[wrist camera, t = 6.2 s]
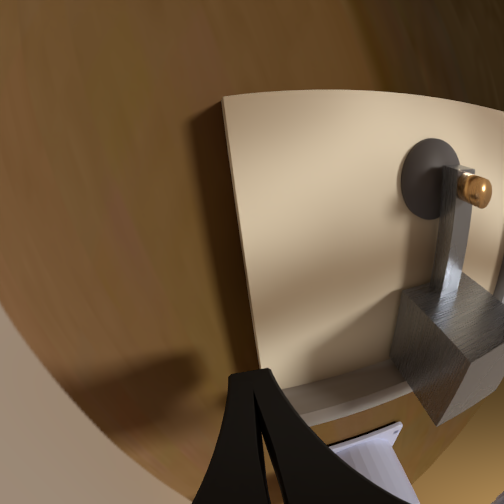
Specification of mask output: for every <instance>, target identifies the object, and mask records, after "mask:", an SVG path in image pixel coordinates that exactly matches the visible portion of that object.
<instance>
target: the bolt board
mask: <svg viewBox="0 0 504 504" xmlns="http://www.w3.org/2000/svg"><path fill="white" fill-rule="evenodd" d="M221 104H222V111H223V119H224V126H225V134H226V141H227V148H228V156H229V163H230V170H231V177H232V185H233V192H234V199H235V206H236V213H237V220H238V227H239V234H240V241H241V248H242V255H243V262H244V269H245V275H246V282H247V289H248V296H249V302H250V309H251V316H252V322H253V329H254V336H255V342H256V349H257V355H258V362H259V368H260V369H264V368H269V369H271V370H272V373H273V375H274V377H275V379H276V381H277V383H278V385H279V386H280V388H281V390H282V391H283V393H284V394H285V396H286V397H287V399H288V400H289V402H290V403H291V405H292V406H293V407H294V408H295V410H296V411H297V412H298V414H299V415H300V416H301V418H302V419H303V420H304V421H305V422H306V424H307V425H308V426H309V427H310V426H314V425H317V424H321V423H325V422H328V421H332V420H335V419H338V418H342V417H345V416H348V415H351V414H354V413H357V412H360V411H363V410H366V409H369V408H372V407H374V406H377V405H380V404H383V403H385V402H388V401H390V400H393V399H395V398H398V397H400V396H403V395H405V394H408V393H410V392H412V389H411V388H410V386H409V385H408V383H407V382H406V380H405V379H404V377H403V376H402V374H401V373H400V371H399V370H398V369H397V367H396V366H395V364H394V363H393V361H392V360H391V359H390V357H389V353H390V349H391V345H392V341H393V336H394V331H395V326H396V321H397V316H398V311H399V305H400V300H401V294H402V290H405V289H409V288H412V287H416V286H419V285H423V284H426V283H429V282H430V280H431V274H432V269H433V263H434V256H435V250H436V242H437V235H438V226H439V216H440V205H441V190H442V165H462V166H466V167H469V168H472V169H475V175H477V176H480V177H483V178H486V179H488V180H489V181H490V183H491V185H492V196H491V200H490V202H489V204H488V205H487V206H486V207H485V208H483V209H480V208H478V207H476V206H474V205H472V214H471V222H470V229H469V235H468V242H467V247H466V253H465V258H464V263H463V268H462V272H463V273H465V274H466V275H467V276H469V277H470V278H471V279H473V280H474V281H475V282H477V283H478V284H479V285H481V286H482V287H483V288H484V289H486V290H487V291H488V292H490V293H491V294H492V295H493V296H495V297H496V298H497V299H498V300H499V301H501V302H502V303H503V304H504V112H502V111H498V110H494V109H490V108H486V107H482V106H478V105H473V104H468V103H463V102H458V101H453V100H447V99H441V98H434V97H427V96H420V95H412V94H403V93H392V92H379V91H361V90H293V91H275V92H262V93H251V94H241V95H232V96H224V97H223V98H222V100H221Z"/></svg>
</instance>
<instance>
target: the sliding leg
mask: <svg viewBox="0 0 504 504" xmlns="http://www.w3.org/2000/svg"><path fill="white" fill-rule="evenodd" d="M491 196H492V185H491V183H490V181H489V180H488V179H486V178H483V177H480V176H477V175H475V169H472V168H469V167H466V166H462V165H442V190H441V205H440V216H439V226H438V235H437V242H436V250H435V256H434V263H433V269H432V274H431V280H430V282H429V283H426V284H423V285H419V286H416V287H412V288H409V289H405V290H402V294H401V300H400V305H399V311H398V316H397V321H396V326H395V331H394V336H393V341H392V345H391V349H390V353H389V357H390V359H391V360H392V361H393V363H394V364H395V366H396V367H397V369H398V370H399V371H400V373H401V374H402V376H403V377H404V379H405V380H406V382H407V383H408V385H409V386H410V388H411V389H412V391H413V392H414V394H415V395H416V396H417V398H418V399H419V401H420V403H421V404H422V406H423V407H424V409H425V410H426V412H427V413H428V415H429V416H430V418H431V419H432V421H433V422H434V424H435V426H436V427H437V426H439V425H441V424H442V423H444V422H446V421H448V420H449V419H451V418H453V417H455V416H456V415H458V414H460V413H461V412H463V411H465V410H466V409H468V408H470V407H471V406H473V405H474V404H476V403H477V402H479V401H480V400H482V399H483V398H485V397H486V396H488V395H489V394H491V393H492V392H493V391H495V390H496V388H497V387H498V385H499V383H500V382H501V380H502V378H503V376H504V304H503V303H502V302H501V301H499V300H498V299H497V298H496V297H495V296H493V295H492V294H491V293H490V292H488V291H487V290H486V289H484V288H483V287H482V286H481V285H479V284H478V283H477V282H475V281H474V280H473V279H471V278H470V277H469V276H467V275H466V274H465V273H463V272H462V268H463V263H464V258H465V253H466V247H467V242H468V235H469V229H470V222H471V214H472V205H474V206H476V207H478V208H480V209H483V208H485V207H486V206H487V205H488V204H489V202H490V200H491Z"/></svg>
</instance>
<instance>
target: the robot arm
mask: <svg viewBox="0 0 504 504" xmlns="http://www.w3.org/2000/svg"><path fill="white" fill-rule="evenodd" d="M402 426H403V425H402V423H401V422H397V423H394V424H392V425H389V426H387V427H384V428H382V429H379V430H377V431H374V432H371V433H369V434H366V435H363V436H360V437H357V438H354V439H351V440H348V441H345V442H342V443H339V444H336V445H332V446H329V447H328V446H327V445H326V444H325V443H324V442H323V441H322V440H321V439H320V438H319V437H318V436H317V435H316V434H315V433H314V432H313V430H312V429H311V428H310V427H309V426H308V425H307V424H306V422H305V421H304V420H303V419H302V418H301V416H300V415H299V414H298V412H297V411H296V410H295V408H294V407H293V406H292V405H291V403H290V402H289V400H288V399H287V397H286V396H285V394H284V393H283V391H282V390H281V388H280V386H279V385H278V383H277V381H276V379H275V377H274V375H273V373H272V370H271V369H269V368H264V369H258V370H253V371H247V372H242V373H236V374H231V375H230V376H229V377H228V394H227V401H226V407H225V412H224V416H223V421H222V425H221V429H220V433H219V437H218V440H217V443H216V446H215V450H214V453H213V456H212V459H211V461H210V464H209V467H208V469H207V472H206V474H205V477H204V479H203V481H202V484H201V486H200V488H199V490H198V492H197V494H196V496H195V498H194V500H193V502H192V504H271V502H270V498H269V493H268V487H267V479H266V470H265V461H264V452H263V442H262V435H263V438H264V441H265V444H266V447H267V450H268V453H269V456H270V459H271V462H272V465H273V468H274V471H275V474H276V477H277V479H278V483H279V486H280V489H281V493H282V497H283V501H284V504H420V502H419V500H418V498H417V496H416V494H415V492H414V490H413V488H412V486H411V484H410V482H409V480H408V478H407V476H406V474H405V472H404V470H403V468H402V466H401V464H400V462H399V460H398V458H397V456H396V454H395V452H394V450H393V448H392V445H393V444H394V442H395V440H396V438H397V436H398V434H399V432H400V430H401V428H402ZM261 432H262V433H261ZM491 504H504V492H503V493H502V494H500V495H499V496H498V497H497V498H496V500H495V501H494V502H492V503H491Z"/></svg>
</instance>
